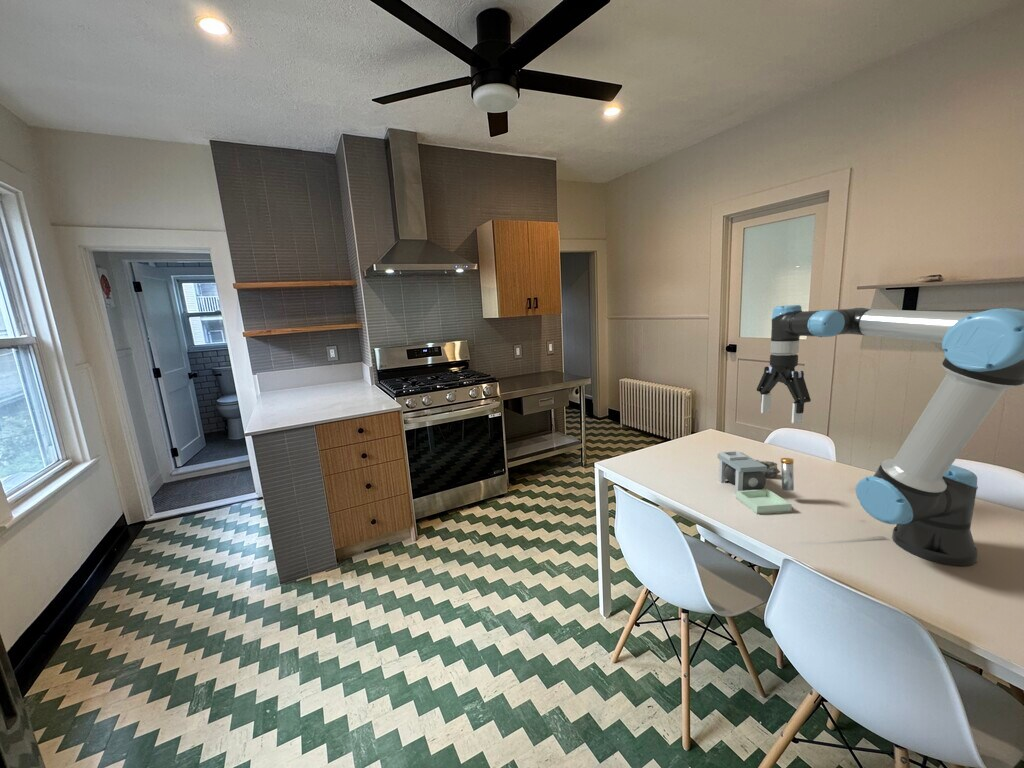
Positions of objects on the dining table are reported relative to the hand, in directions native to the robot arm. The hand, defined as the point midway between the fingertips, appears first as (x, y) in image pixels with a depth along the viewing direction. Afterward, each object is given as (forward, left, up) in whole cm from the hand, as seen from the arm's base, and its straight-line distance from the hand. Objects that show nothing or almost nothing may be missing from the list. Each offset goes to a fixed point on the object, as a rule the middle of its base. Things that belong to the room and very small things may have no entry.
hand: (780, 417), depth 128 cm
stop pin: (-5, 0, -23) cm, 24 cm away
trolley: (+6, +9, -27) cm, 29 cm away
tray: (-7, +9, -27) cm, 29 cm away
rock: (+10, -2, -21) cm, 24 cm away
